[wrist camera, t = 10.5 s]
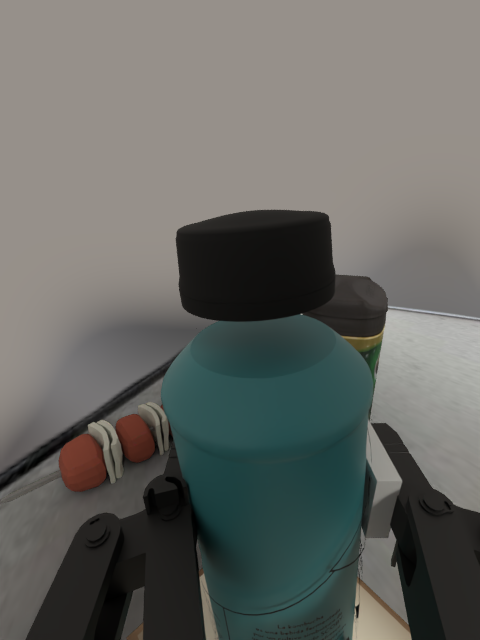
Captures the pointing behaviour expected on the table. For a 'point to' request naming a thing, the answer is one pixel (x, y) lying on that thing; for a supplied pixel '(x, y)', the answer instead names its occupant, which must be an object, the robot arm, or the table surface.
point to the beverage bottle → (270, 427)
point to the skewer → (107, 450)
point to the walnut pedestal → (373, 623)
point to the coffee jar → (357, 317)
